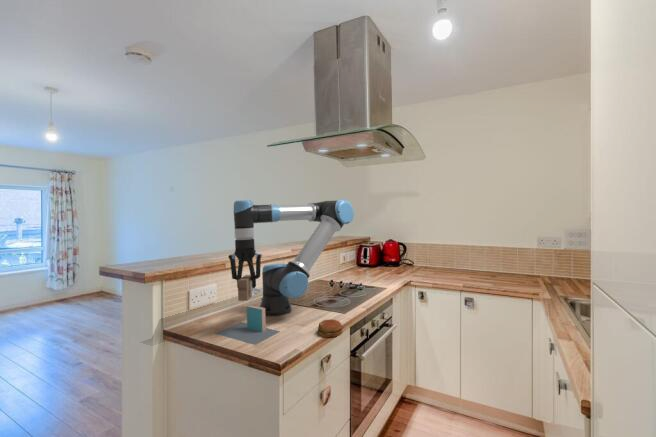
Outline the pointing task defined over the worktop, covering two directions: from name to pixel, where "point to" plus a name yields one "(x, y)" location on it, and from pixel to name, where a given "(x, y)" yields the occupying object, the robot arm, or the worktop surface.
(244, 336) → the mat
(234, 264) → the robot arm
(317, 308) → the worktop surface
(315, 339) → the worktop surface
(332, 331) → the burger
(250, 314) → the teal and beige block
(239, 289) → the brown wooden block
